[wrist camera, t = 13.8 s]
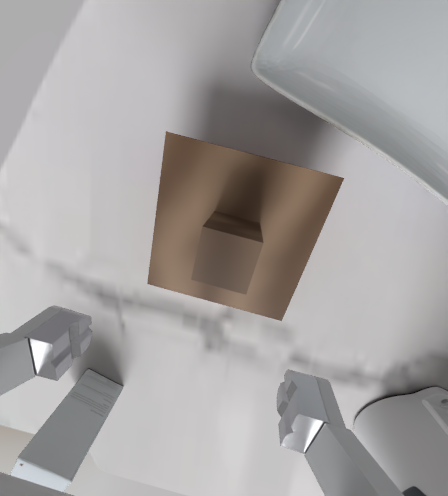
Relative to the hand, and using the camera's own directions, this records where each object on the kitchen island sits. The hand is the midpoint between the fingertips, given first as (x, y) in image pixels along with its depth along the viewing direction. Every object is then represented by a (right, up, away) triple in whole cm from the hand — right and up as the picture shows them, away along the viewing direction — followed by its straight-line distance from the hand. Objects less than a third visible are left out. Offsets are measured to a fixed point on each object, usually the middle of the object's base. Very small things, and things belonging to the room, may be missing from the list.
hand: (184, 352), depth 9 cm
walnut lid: (+2, +5, +11) cm, 12 cm away
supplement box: (-21, -22, +31) cm, 43 cm away
